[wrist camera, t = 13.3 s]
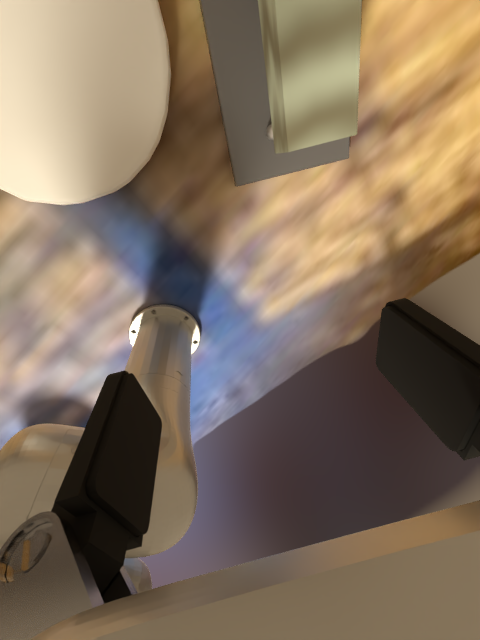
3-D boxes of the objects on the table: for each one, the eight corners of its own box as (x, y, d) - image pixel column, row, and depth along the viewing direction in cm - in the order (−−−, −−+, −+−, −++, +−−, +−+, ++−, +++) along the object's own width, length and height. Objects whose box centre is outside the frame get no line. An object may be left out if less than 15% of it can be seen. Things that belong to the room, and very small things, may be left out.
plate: (25, 247, 32) (-303, -74, 18) (54, 233, 37) (-183, -24, 24) (217, 122, 26) (-60, -508, 12) (218, 126, 31) (28, -306, 17)
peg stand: (343, 158, 36) (369, 157, 31) (235, 185, 36) (242, 189, 30) (347, -109, 24) (391, -189, 19) (185, -70, 24) (182, -139, 19)
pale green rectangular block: (248, -79, 20) (262, -142, 16) (332, -100, 20) (367, -168, 16) (275, 153, 29) (288, 152, 25) (333, 138, 29) (356, 134, 25)
